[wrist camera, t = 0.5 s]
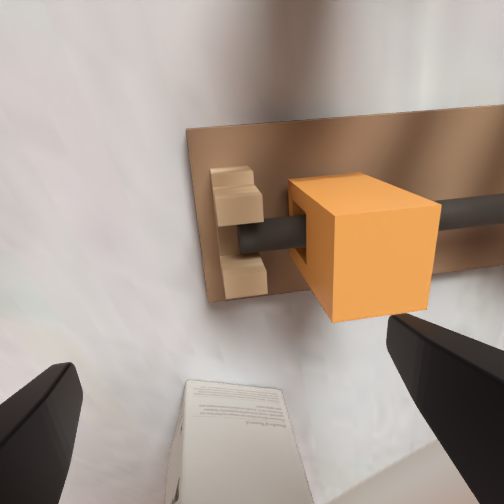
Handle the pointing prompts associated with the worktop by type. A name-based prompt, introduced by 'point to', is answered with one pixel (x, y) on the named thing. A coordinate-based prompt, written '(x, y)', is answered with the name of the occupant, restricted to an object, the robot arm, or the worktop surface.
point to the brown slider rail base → (334, 163)
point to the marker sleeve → (364, 245)
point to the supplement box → (234, 448)
